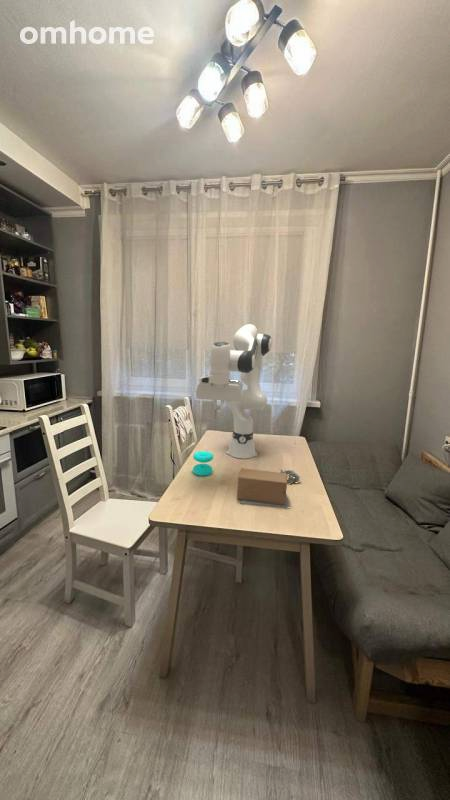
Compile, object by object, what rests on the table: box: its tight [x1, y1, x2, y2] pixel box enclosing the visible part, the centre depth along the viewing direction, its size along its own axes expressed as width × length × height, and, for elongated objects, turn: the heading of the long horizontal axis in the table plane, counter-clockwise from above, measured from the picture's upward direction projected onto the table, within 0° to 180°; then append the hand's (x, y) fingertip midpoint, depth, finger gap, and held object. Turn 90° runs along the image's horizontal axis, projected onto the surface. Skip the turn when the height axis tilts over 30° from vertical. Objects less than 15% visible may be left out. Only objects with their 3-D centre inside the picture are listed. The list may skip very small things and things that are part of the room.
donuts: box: [192, 450, 214, 477], centre depth 155 cm, size 10×10×10 cm
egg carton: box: [279, 468, 301, 484], centre depth 153 cm, size 11×8×4 cm
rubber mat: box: [240, 493, 291, 508], centre depth 133 cm, size 14×20×1 cm
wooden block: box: [236, 468, 288, 505], centre depth 132 cm, size 10×10×20 cm
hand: (217, 409), depth 139 cm, fingers closed
